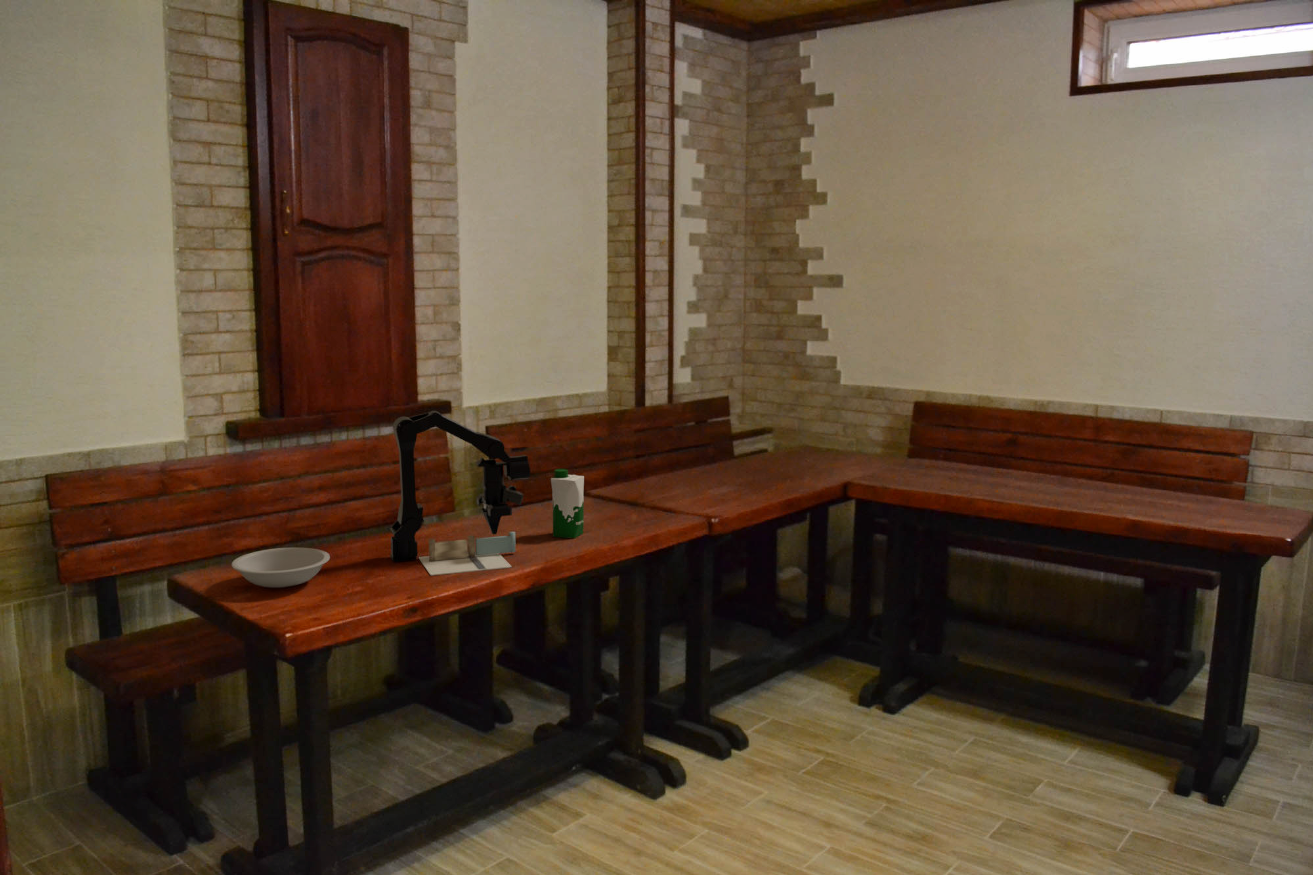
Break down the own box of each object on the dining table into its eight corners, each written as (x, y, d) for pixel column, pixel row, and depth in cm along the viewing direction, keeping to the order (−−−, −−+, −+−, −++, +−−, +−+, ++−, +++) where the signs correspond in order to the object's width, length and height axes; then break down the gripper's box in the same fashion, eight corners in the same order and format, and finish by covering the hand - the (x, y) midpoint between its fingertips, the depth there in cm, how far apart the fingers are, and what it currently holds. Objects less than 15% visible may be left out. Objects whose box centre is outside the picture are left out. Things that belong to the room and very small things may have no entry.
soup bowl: (217, 583, 288) (215, 558, 287) (303, 565, 305) (302, 542, 304) (258, 604, 271) (257, 578, 270) (348, 584, 288) (346, 559, 287)
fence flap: (477, 555, 312) (476, 536, 312) (475, 554, 314) (475, 534, 313) (516, 551, 317) (515, 532, 316) (514, 550, 318) (514, 531, 317)
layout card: (430, 575, 295) (430, 574, 295) (418, 558, 312) (418, 556, 312) (511, 567, 303) (511, 566, 303) (495, 550, 320) (495, 549, 320)
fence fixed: (429, 561, 308) (429, 540, 307) (428, 560, 309) (428, 539, 308) (475, 557, 312) (475, 536, 311) (474, 555, 314) (473, 535, 313)
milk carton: (560, 530, 344) (559, 467, 341) (587, 532, 341) (587, 468, 338) (548, 537, 336) (548, 472, 333) (576, 539, 333) (575, 474, 330)
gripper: (529, 485, 312) (530, 539, 315) (512, 473, 329) (513, 524, 332) (490, 488, 308) (491, 542, 310) (475, 475, 325) (476, 527, 328)
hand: (494, 534), depth 320 cm, fingers closed
